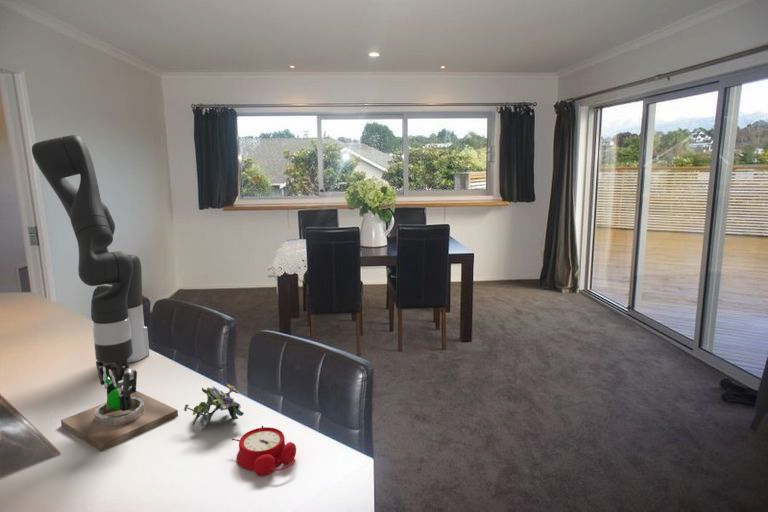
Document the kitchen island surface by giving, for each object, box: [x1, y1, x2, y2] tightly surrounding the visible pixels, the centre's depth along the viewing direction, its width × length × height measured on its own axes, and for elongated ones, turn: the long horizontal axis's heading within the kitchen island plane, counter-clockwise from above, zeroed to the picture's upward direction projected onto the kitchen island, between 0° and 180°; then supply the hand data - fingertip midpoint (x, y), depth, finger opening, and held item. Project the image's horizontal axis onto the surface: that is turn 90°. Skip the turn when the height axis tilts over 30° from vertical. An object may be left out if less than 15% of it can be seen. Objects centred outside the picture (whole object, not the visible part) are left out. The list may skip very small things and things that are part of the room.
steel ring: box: [94, 397, 144, 426], centre depth 112 cm, size 10×10×2 cm
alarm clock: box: [231, 425, 297, 477], centre depth 97 cm, size 10×6×15 cm
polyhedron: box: [106, 388, 123, 410], centre depth 111 cm, size 5×5×5 cm
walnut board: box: [60, 390, 179, 452], centre depth 112 cm, size 18×18×2 cm
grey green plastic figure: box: [183, 382, 245, 431], centre depth 111 cm, size 11×11×12 cm
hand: (119, 405), depth 111 cm, fingers closed on polyhedron, 5 cm apart
